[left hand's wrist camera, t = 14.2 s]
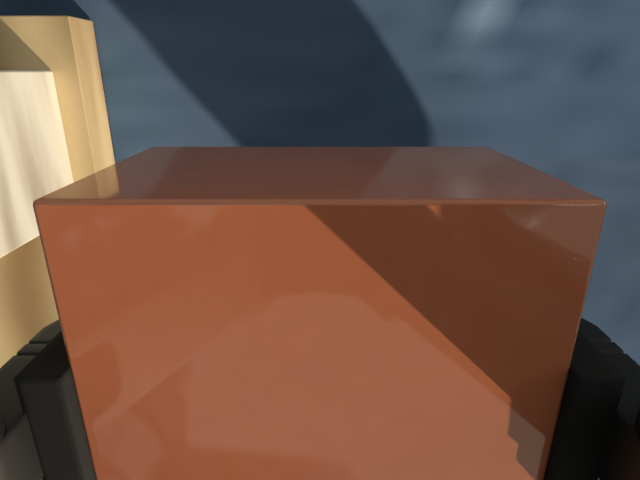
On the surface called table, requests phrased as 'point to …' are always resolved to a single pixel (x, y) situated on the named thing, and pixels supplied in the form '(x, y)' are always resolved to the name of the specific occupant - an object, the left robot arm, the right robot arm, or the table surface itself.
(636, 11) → the table surface
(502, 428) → the cap block
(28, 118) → the beige stand
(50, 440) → the left robot arm
